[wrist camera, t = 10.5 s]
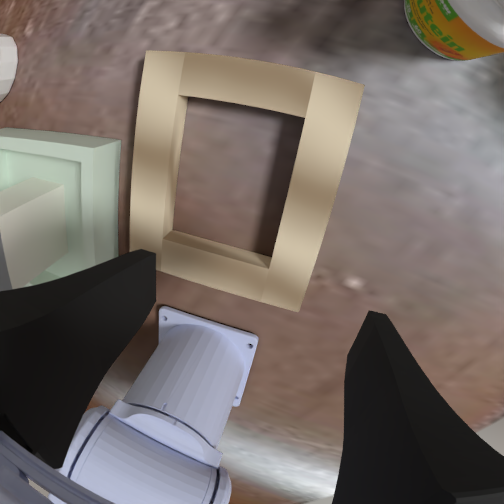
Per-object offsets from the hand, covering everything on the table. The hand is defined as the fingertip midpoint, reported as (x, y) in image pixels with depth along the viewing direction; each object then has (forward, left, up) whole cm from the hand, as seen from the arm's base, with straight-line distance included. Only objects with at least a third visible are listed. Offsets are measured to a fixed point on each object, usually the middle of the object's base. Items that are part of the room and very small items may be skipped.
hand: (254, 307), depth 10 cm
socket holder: (+1, +4, -10) cm, 11 cm away
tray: (-5, +19, -10) cm, 22 cm away
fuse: (-5, +19, -9) cm, 22 cm away
